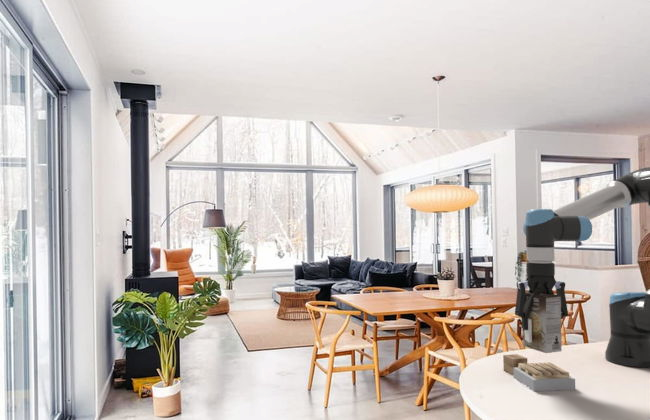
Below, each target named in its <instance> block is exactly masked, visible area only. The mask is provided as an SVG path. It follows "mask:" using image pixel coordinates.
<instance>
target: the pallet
mask: <svg viewBox="0 0 650 420" xmlns="http://www.w3.org/2000/svg"><path fill="white" fill-rule="evenodd" d="M518 369H520V370H525V373H526V374H532V377H533V378H534V379H548V378H570V372H569V371H567V370H565V369H564V368H561V367H559V366H558V365H556V364H553V363H552V362H527V364H525V363H518Z"/></svg>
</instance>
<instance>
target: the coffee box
mask: <svg viewBox="0 0 650 420" xmlns="http://www.w3.org/2000/svg"><path fill="white" fill-rule="evenodd" d="M528 292H529V291H526V292H525V301H524V305H525V302H526V300H527V298H528V297H529V296H530V295H531V294H530V293H528ZM529 319H531V322H532V342H528V341H526V340H525V330H524V329H522V346H523V347H525V348H528V349H531V350H534V351H538V352H540V353H544V354H552V353H557V352H562V350H563V349H562V328H561V326H562V319H561V295H557V294H556V293H554V294H549V293H548V294H537V295H535V296H534V297H533V307H532V310H531V313H530V316H529Z"/></svg>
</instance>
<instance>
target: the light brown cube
mask: <svg viewBox="0 0 650 420" xmlns="http://www.w3.org/2000/svg"><path fill="white" fill-rule="evenodd" d="M502 356H503V360H502V361H503V363H502V364H503V372H505V373H507V374H510V375H512V376H513V375H514V373H513V368H516V367H518V363H525V364H527V363H528V357H525V356H524V355H521V354H518V353H515V354H514V353H513V354H503V355H502Z"/></svg>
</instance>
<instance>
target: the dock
mask: <svg viewBox="0 0 650 420" xmlns="http://www.w3.org/2000/svg"><path fill="white" fill-rule="evenodd" d="M513 373H514V376H513V379H515V380H516V379H517V380H516V381H518V382H519V381H520V382H519V383H521V384H522V383H523V384H522V385H524V386H525V385H526V388H528V387H529V389H530V390H531V391H533V392H545V391H546V392H547V391H548V392H549V391H574V390H576V378H574V377H572V376H570V375H569V376H570V378H548V379H534V378H533V377H532V374H526V373H525V370H520V369H518V367H516V368H513Z"/></svg>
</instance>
